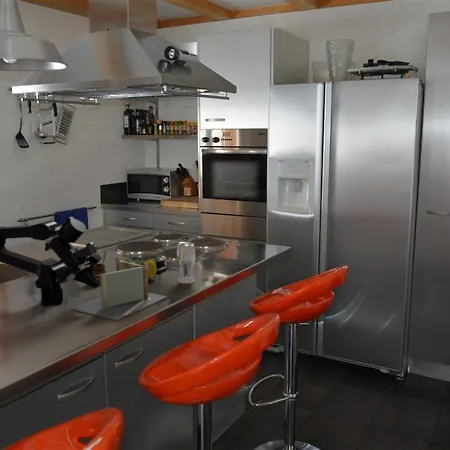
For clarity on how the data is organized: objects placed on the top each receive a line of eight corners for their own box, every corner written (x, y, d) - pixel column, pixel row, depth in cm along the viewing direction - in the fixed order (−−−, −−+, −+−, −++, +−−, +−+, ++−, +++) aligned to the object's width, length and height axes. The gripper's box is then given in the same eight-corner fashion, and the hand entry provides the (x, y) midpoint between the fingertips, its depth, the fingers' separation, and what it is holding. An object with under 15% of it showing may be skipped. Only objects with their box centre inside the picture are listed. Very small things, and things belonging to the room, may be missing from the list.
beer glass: (174, 280, 204) (174, 242, 202) (191, 278, 207) (191, 241, 204) (180, 285, 198) (180, 246, 195) (198, 283, 201) (197, 244, 198)
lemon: (149, 276, 210) (149, 257, 208) (159, 279, 206) (159, 259, 205) (139, 279, 206) (138, 259, 204) (149, 282, 202) (148, 261, 201)
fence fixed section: (149, 299, 181) (148, 263, 179) (146, 300, 180) (145, 264, 177) (119, 291, 190) (118, 257, 187) (116, 292, 188) (115, 257, 186)
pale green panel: (141, 297, 181) (140, 266, 179) (144, 298, 179) (143, 267, 177) (101, 306, 171) (99, 274, 169) (103, 308, 170) (102, 275, 168)
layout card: (117, 320, 162) (117, 319, 162) (70, 309, 172) (70, 308, 172) (167, 297, 184) (167, 296, 184) (123, 288, 194) (123, 287, 194)
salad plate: (119, 276, 211) (119, 265, 210) (120, 265, 228) (120, 254, 227) (168, 274, 214) (168, 263, 214) (165, 263, 232) (165, 253, 231)
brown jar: (88, 282, 202) (87, 251, 200) (104, 279, 205) (103, 249, 203) (93, 286, 197) (91, 254, 195) (109, 283, 200) (108, 252, 198)
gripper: (64, 241, 162) (98, 279, 161) (95, 230, 179) (126, 264, 178) (43, 264, 165) (76, 301, 164) (76, 251, 183) (106, 284, 182)
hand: (97, 287), depth 172 cm, fingers closed
